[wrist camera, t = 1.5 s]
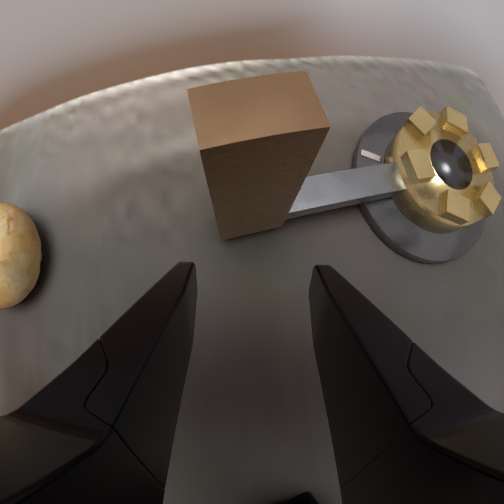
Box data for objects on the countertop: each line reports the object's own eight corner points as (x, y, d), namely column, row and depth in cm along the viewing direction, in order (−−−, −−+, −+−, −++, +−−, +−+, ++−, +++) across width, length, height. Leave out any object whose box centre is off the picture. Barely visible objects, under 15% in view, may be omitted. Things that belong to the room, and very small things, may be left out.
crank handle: (447, 127, 23) (524, 50, 11) (485, 222, 22) (589, 173, 10) (203, 162, 22) (176, 30, 10) (233, 291, 20) (224, 262, 8)
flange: (495, 221, 24) (505, 217, 22) (406, 294, 22) (416, 293, 21) (424, 106, 26) (431, 98, 24) (320, 149, 24) (325, 139, 22)
